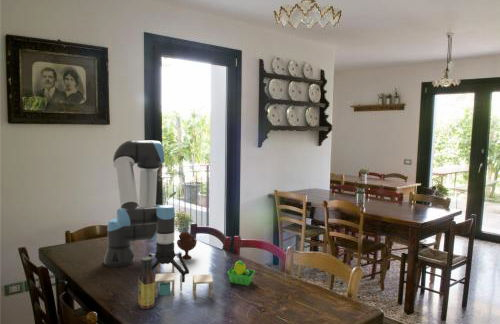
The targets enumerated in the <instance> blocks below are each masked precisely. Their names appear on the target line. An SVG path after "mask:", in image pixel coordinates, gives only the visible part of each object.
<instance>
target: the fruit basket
mask: <svg viewBox="0 0 500 324" xmlns="http://www.w3.org/2000/svg"><path fill="white" fill-rule="evenodd" d="M246 268H247V266H246V264H245V263H244V262H243V261H242V260H238V261H236V262H235V264H234V267H231V268H230V269H229V270H228V271H227V275H228V280H229V283H232V284H236V285H243V286H249V285H250V284H251V283H252V281H253V277H254V275H255V273H256V272H255V270H253V269H246Z"/></svg>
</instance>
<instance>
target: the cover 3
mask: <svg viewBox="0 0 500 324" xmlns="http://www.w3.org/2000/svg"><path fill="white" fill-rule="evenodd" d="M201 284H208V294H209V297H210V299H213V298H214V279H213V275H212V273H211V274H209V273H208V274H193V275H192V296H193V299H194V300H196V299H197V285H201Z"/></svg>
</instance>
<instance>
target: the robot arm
mask: <svg viewBox="0 0 500 324" xmlns="http://www.w3.org/2000/svg"><path fill="white" fill-rule="evenodd" d="M112 161H113V167H114V168H115V169H116V176H117V184H118V194H119V203H120V208H118V209H117V210H116V217H115V218H112V219H110V220H109V221H108V222H107V229H106V231H107V250H106V252H105V255H104V258H103V265H105V266H106V267H112V268H115V267H116V268H120V267H125V266H130V265H132V264H133V263H134V262H135V261H136V260H135V254H134V251H133V248H132V242H141V241H151V240H156V245H155V246H156V247H155V251H156V252H155V253H152V252H148V257H152V260H153V259H154V258H155V259H156V260H155V261H154V263H153V264H152V270H153V271H154V270H155V269H156V268H157V265H158V264H159V263H160V265H165V264H166V265H169V264H171V266H172V265H174V269H176V270H177V271H178V272H179V273H180V274H179V277H180V278H179V282H180V283H179V291H181V292H182V291H183V283H185V281H186V280H185V279H186V278H185V277H186V275H189V274H190V270H189V267H188V265H187V263H186V262H185V259H183V258H182V256H183V255H182V251H179V252H175V242H174V241H175V226H176V225H175V223H176V222H175V220H176V219H175V217H176V212H175V207H174V206H173V205H170V204H156V203H157V188H158V185H157V184H158V183H157V182H158V170H159V169H160V168H161V164H164V163H165V150H164V147H163V144H162V142H161V141H159V140H153V139H151V140H149V139H148V140H133V139H131V140H126V141H124V142H123V143H121V144H120V145H119V146H118V147H117V149H116V150H115V152H114V155H113V159H112ZM135 164H137V165H136V166H137V168H138V169H139V170H140V171H139V190H138V191H139V195H138V193H137V186H136V179H135V173H134V165H135ZM138 199H139V200H138ZM175 257H177V259H178V260H179V262H180V264H181V265H182V267H183V268H182V267H181V266H180V265H179V264H178V263H177V262H176V260H175Z"/></svg>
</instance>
